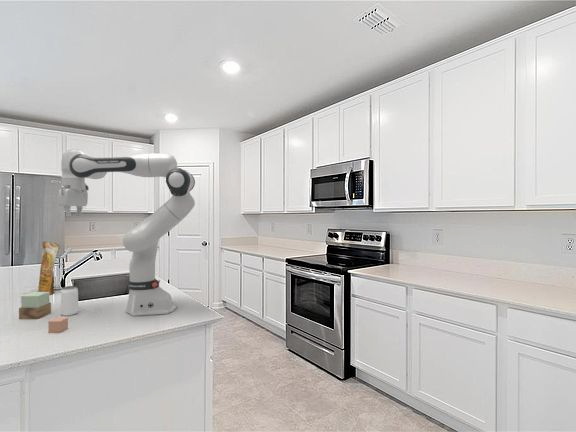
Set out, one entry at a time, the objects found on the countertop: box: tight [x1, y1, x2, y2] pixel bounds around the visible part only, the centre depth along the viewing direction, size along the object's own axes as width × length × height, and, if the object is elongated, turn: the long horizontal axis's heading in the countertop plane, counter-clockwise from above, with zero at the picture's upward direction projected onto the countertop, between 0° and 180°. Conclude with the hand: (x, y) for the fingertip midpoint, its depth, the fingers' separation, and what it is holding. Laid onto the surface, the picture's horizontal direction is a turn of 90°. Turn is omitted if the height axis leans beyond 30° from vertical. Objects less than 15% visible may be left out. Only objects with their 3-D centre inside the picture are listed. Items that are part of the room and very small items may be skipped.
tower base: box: [18, 302, 52, 320], centre depth 145 cm, size 8×8×5 cm
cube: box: [47, 316, 69, 334], centre depth 128 cm, size 4×4×4 cm
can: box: [60, 285, 79, 317], centre depth 148 cm, size 6×6×12 cm
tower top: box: [20, 291, 50, 308], centre depth 144 cm, size 7×7×5 cm
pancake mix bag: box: [37, 241, 60, 296], centre depth 183 cm, size 7×19×28 cm, turn 52°
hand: (73, 216), depth 150 cm, fingers open, 8 cm apart
